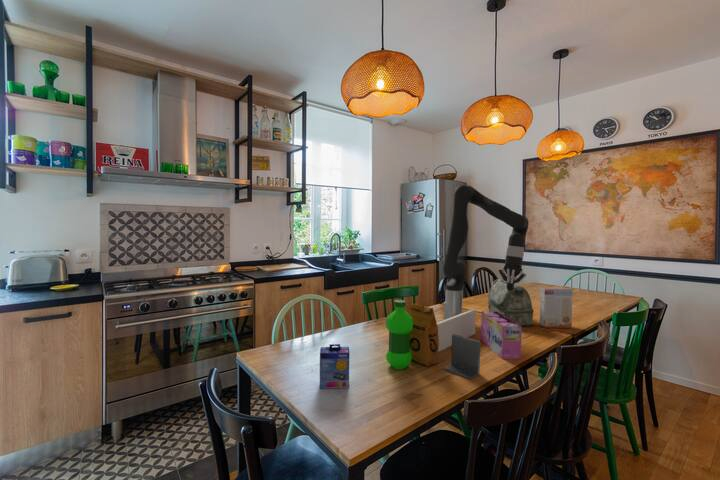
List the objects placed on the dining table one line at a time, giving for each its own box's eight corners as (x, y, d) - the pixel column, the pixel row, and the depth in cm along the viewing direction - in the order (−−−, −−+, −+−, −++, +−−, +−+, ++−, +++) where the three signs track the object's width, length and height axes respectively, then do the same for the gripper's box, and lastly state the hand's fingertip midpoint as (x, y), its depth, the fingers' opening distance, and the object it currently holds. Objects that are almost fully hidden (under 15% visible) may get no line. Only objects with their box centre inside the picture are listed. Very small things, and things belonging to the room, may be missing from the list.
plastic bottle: (406, 374, 119) (407, 305, 118) (380, 367, 125) (381, 301, 123) (417, 364, 127) (418, 300, 126) (392, 358, 133) (393, 297, 132)
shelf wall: (427, 354, 137) (427, 326, 137) (472, 332, 165) (473, 309, 165) (430, 356, 136) (430, 327, 135) (475, 333, 164) (475, 309, 164)
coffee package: (425, 369, 124) (426, 310, 123) (402, 358, 134) (403, 304, 133) (443, 362, 129) (444, 307, 128) (419, 352, 140) (420, 300, 138)
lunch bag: (484, 313, 201) (484, 277, 200) (514, 314, 201) (515, 278, 200) (501, 327, 175) (502, 286, 174) (536, 327, 175) (537, 286, 174)
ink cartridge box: (319, 389, 108) (319, 345, 107) (319, 381, 113) (320, 339, 113) (349, 388, 109) (350, 345, 108) (348, 380, 114) (349, 339, 114)
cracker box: (565, 325, 179) (567, 286, 178) (571, 328, 173) (573, 289, 172) (538, 324, 181) (540, 286, 180) (543, 327, 175) (545, 288, 174)
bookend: (444, 370, 123) (445, 338, 122) (453, 364, 128) (453, 334, 127) (471, 379, 116) (471, 345, 115) (479, 373, 120) (480, 341, 120)
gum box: (478, 338, 157) (479, 310, 157) (495, 338, 158) (496, 310, 157) (502, 359, 134) (503, 326, 133) (521, 359, 134) (522, 326, 133)
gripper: (497, 253, 164) (493, 288, 165) (525, 257, 155) (520, 294, 155) (504, 254, 169) (499, 287, 170) (531, 257, 160) (526, 293, 160)
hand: (509, 290), depth 163 cm, fingers closed
